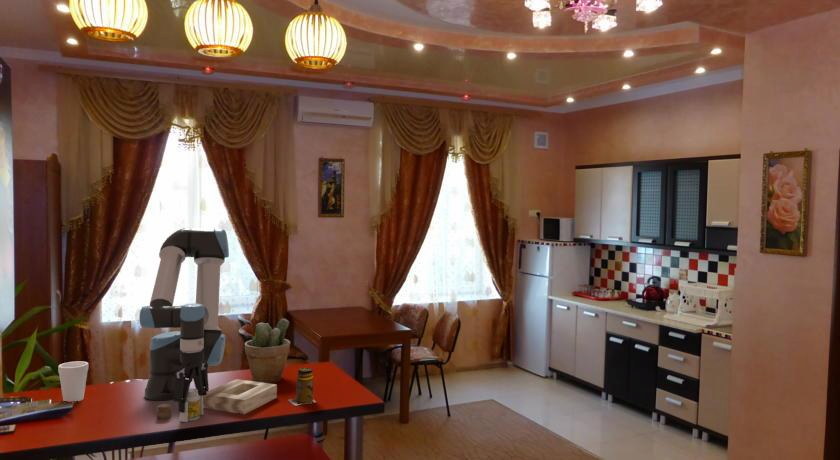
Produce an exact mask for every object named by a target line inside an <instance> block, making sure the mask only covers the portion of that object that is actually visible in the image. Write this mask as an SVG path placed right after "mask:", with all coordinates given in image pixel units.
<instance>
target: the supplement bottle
mask: <svg viewBox="0 0 840 460" xmlns="http://www.w3.org/2000/svg"><path fill="white" fill-rule="evenodd" d="M186 402H188V422H189V421H190V422H191V421H196V420H198V419H200V417H201V415H200V396H199V395H198V389H196V388H189V391H188V395H187V400H186Z"/></svg>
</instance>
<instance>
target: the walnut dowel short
mask: <svg viewBox="0 0 840 460" xmlns="http://www.w3.org/2000/svg"><path fill="white" fill-rule="evenodd" d="M170 417H172V405H171V404H170V403H161V404H159V405H157V406H156V419H157V420H158V419H165V420H168V418H169V419H171V418H170Z"/></svg>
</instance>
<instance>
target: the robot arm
mask: <svg viewBox="0 0 840 460" xmlns="http://www.w3.org/2000/svg"><path fill="white" fill-rule="evenodd" d="M158 256H159V257H158V258H159V259H160V261H159V266H158V269H157V273H156V277H155V280H154V281H155V282H154V284H153V289H152V293H151V297H150V301H149V305H147V306H141V309H140V311H139V318H138V319H139V325H140V326H141V328H143V329H166V328H167V329H169V328H170V329H171V328H172V329H173V328H179V329H180V331H178V330H175V331H167V332H162V333H159V334H156V335H155V336H153V337H151V339H150V340H149V341H150V343H149V349H148V350H149V377H148V379H147V384H146V386H145V388H144V398H146V399H148V400H149V401H169V400H170V401H171V400H173V402H174V403H178V412H179V422H183V423H188V422H189V421H188V402H186V400H187V395H188V391H189V389H190V386H191V383H192V382H193V383H194V387H195V389H198V394H197V395H199V396H200V416H203V415H204V408H203V404H204V395H207V392H208V391H210V389H209V376H208V375H209V373H208V370H209V368H208V367H211V366H218V365H221V363H222V361H223V358H224V353H225V346H226V335H225V334H223V332H222V331H223V329H222V328H220V327H219V310H220V309H219V308H220V305H219V304H220V289H221V288H220V286H221V285H220V284H221V283H220V282H221V266H222V265H223V264H224V263H225V262H226V261H225V258H226V259H227V258H229V256H230V249H229V241H228V236H227V232H226V230H225V229H223V228H215V227H211V228H210V227H207V228H206V227H204V228H203V227H200V228H199V227H198V228H197V227H195V228H193V227H185V228H181V229H178V230H176V231H174V232H173V233H171V234H170V235H169V236H168V237H167V238H166V239H165V240H164V242H163V243H162V244H161V247H160V250H159V253H158ZM186 258H193V263H195V264H196V265H197V271H196V274H197V275H196V290H195V291H196V292H195V303H185V304H183V305H174V301H175V296H176V291H177V286H178V282H179V277H180V272H181V267H182V263H184V262H185V260H186Z"/></svg>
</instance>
